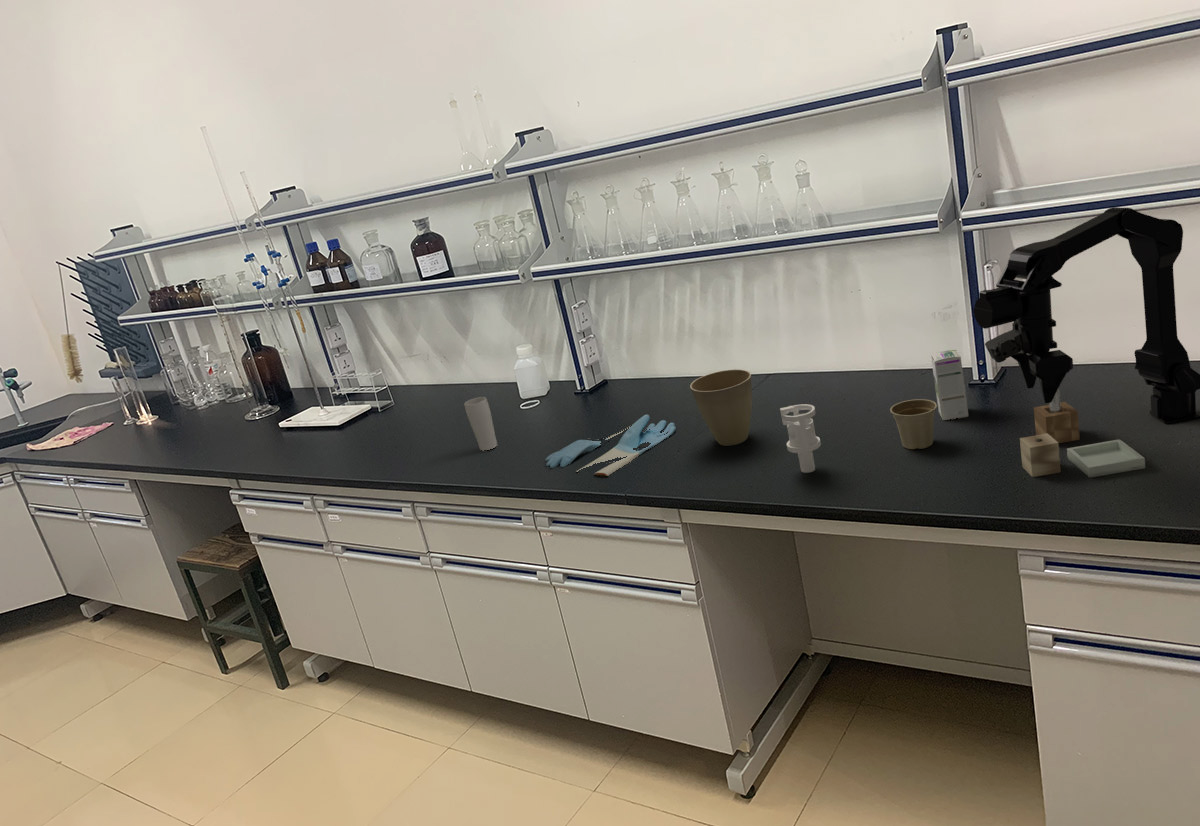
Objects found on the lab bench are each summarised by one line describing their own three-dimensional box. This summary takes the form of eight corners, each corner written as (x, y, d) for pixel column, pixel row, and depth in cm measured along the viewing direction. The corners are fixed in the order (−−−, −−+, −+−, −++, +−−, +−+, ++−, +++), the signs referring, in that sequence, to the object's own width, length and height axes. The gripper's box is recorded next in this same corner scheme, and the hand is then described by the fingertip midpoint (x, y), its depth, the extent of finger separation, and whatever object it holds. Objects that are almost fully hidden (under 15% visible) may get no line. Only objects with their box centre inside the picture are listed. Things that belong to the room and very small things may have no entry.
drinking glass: (504, 443, 255) (491, 395, 250) (492, 452, 249) (478, 404, 244) (485, 444, 258) (471, 397, 253) (473, 453, 252) (459, 406, 248)
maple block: (1049, 462, 165) (1047, 432, 163) (1060, 472, 160) (1058, 442, 158) (1022, 467, 166) (1019, 437, 164) (1032, 477, 161) (1029, 447, 159)
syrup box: (969, 417, 194) (962, 355, 189) (941, 421, 195) (934, 360, 191) (964, 408, 199) (957, 348, 194) (937, 412, 200) (929, 353, 196)
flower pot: (948, 437, 186) (944, 399, 184) (930, 454, 180) (925, 416, 177) (906, 434, 193) (901, 398, 190) (887, 451, 187) (882, 414, 184)
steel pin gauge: (1060, 434, 175) (1057, 388, 172) (1064, 437, 173) (1061, 391, 170) (1050, 436, 175) (1046, 390, 172) (1054, 439, 173) (1050, 393, 170)
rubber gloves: (533, 469, 230) (527, 447, 228) (613, 422, 251) (608, 402, 249) (608, 480, 210) (602, 455, 208) (687, 428, 232) (683, 406, 230)
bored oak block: (1066, 429, 176) (1064, 401, 175) (1079, 439, 171) (1077, 411, 169) (1036, 434, 177) (1033, 407, 176) (1047, 445, 172) (1045, 417, 170)
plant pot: (705, 433, 223) (693, 375, 218) (763, 424, 219) (751, 365, 214) (700, 456, 209) (687, 394, 204) (761, 447, 205) (749, 384, 201)
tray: (1120, 449, 163) (1119, 439, 163) (1145, 468, 154) (1144, 458, 154) (1067, 458, 165) (1066, 448, 164) (1089, 477, 156) (1088, 467, 155)
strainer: (789, 467, 191) (777, 403, 186) (820, 460, 190) (810, 396, 186) (794, 479, 184) (783, 414, 180) (828, 472, 184) (817, 406, 179)
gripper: (973, 312, 169) (979, 387, 174) (1004, 335, 152) (1010, 418, 156) (1033, 302, 167) (1038, 378, 172) (1072, 324, 150) (1076, 408, 154)
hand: (1038, 395), depth 164 cm, fingers open, 9 cm apart
